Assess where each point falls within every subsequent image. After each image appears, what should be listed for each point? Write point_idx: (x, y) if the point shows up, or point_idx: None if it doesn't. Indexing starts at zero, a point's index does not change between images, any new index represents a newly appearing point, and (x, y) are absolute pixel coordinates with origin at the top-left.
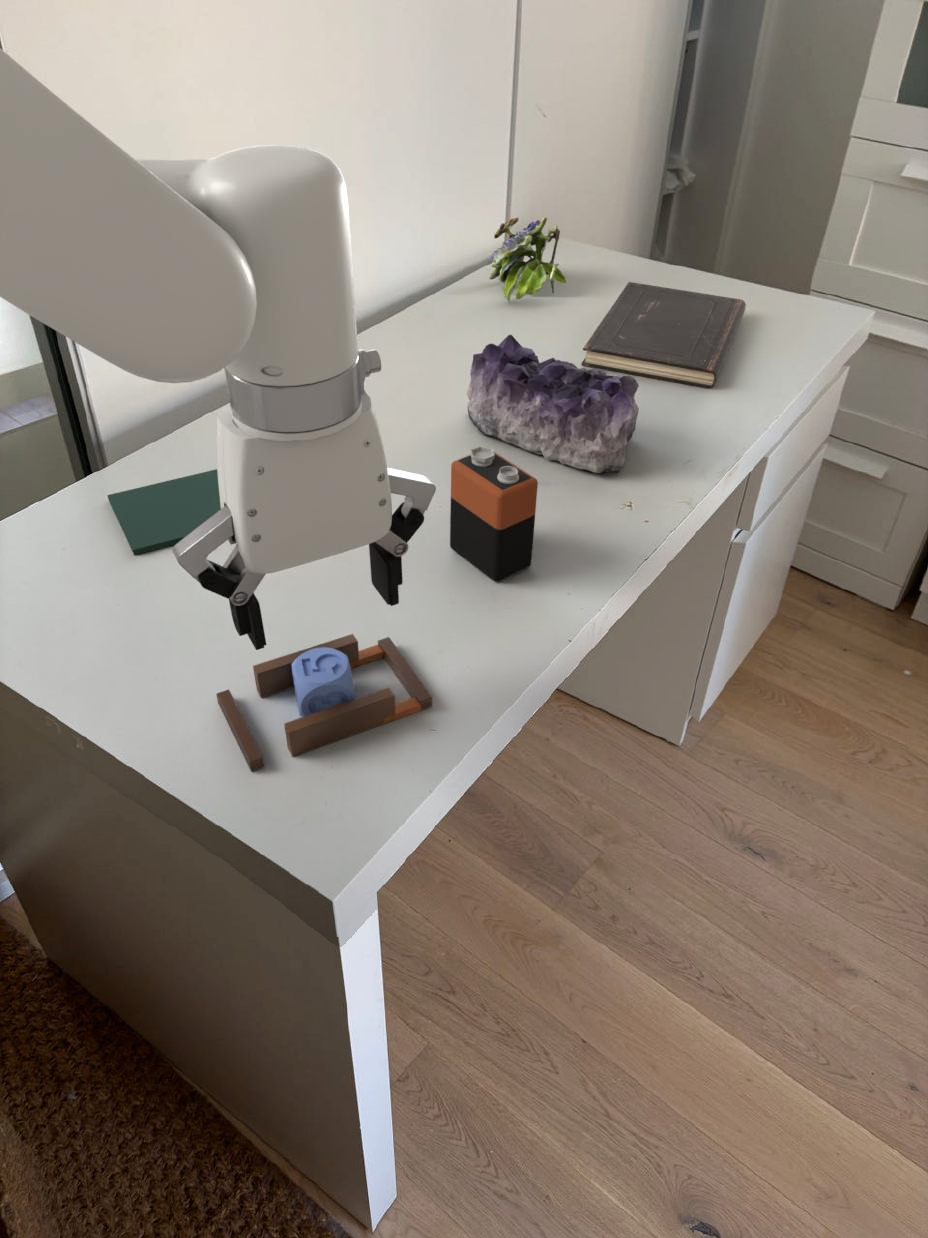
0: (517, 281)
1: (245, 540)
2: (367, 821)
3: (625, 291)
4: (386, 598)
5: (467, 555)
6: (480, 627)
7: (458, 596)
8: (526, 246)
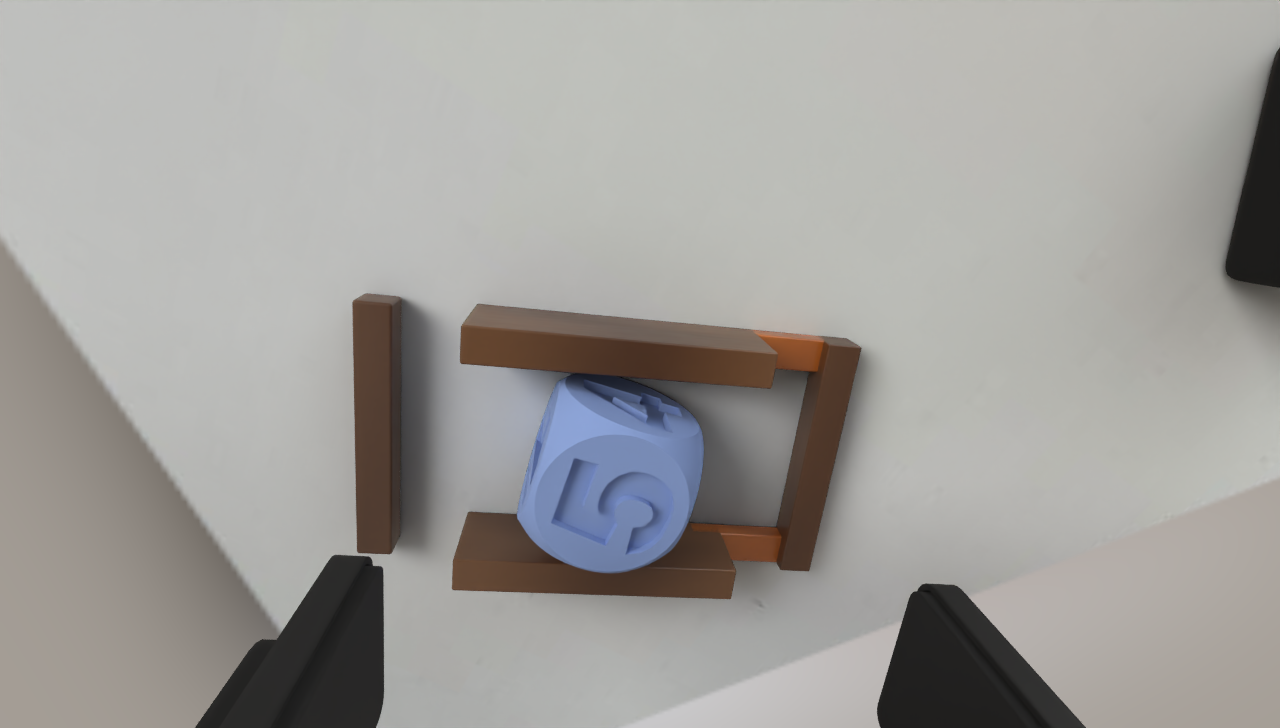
0: None
1: None
2: (528, 722)
3: None
4: (890, 723)
5: (1276, 145)
6: (1058, 394)
7: (1112, 261)
8: None
